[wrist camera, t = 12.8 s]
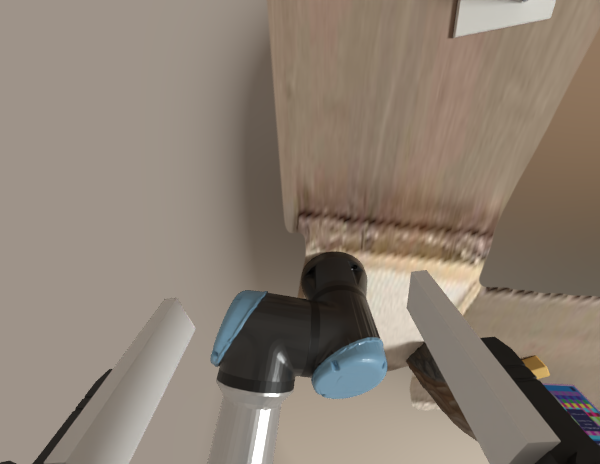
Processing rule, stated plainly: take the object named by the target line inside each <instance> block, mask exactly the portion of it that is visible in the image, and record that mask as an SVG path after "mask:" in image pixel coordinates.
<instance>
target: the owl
mask: <svg viewBox="0 0 600 464" xmlns="http://www.w3.org/2000/svg"><path fill="white" fill-rule="evenodd" d="M406 362H407V363H408V365H409V368H410V369H411V370H412V371H413V373H414V374H415V376H416V377H417V379H418V380H419V382H420V384H421V385H422V386H423V388H425V389H426V390H427V392H428V393H429V394H430V395H431V396H432V398H433V399H434V401H435V402H436V403H437V405H438V406H439V407H440V409H441V410H442V411H443V412H444V413H445V414H446V415H447V416H448V417H449V418H450V419H451V421H452V422H453V423H454V424H455V425H457V426H458V427H459V428H460V429H461V430H462V431H463V432H465V433H466V434H468V435H469V436H471V437H472V438H473V439H475V440H476V441H477V439H476V437H475V435H474V433H473V431H472V429H471V428H470V426H469V424H468V422H467V420H466V418H465V416H464V414H463V413H462V411H461V409H460V407H459V405H458V403H457V401H456V399H455V398H454V396H453V394H452V392H451V390H450V388H449V386H448V384H447V383H446V381H445V379H444V377H443V375H442V373H441V371H440V369H439V368H438V366H437V364H436V362H435V360H434V358H433V356H432V354H431V352H430V351H429V349H428V347H427V345H426V343H423V344H422V346H421V347H420V348H418V349H417V351H415V353H413V354H412V355H410V357H409V358H408V359H407V360H406Z"/></svg>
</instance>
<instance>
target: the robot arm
mask: <svg viewBox="0 0 600 464" xmlns="http://www.w3.org/2000/svg"><path fill="white" fill-rule="evenodd" d="M302 289H303V292H304V294H305V296H306V298H307V299H301V298H295V297H289V296H283V295H277V294H271V293H268V292H267V291H265V292H260V291H251V290H245V291H242V292H240V293H239V294H238V295H237V296H236V297H235V299H234V300H233V302H232V303H231V305H230V307H229V309H228V311H227V313H226V316H225V317H224V320H223V322H222V324H221V327H220V329H219V332H218V334H217V337H216V340H215V343H214V348H213V352H212V354H211V363H212V364H214V365H215V366H216V367H218V366H220V368H219V372H218V376H217V380H216V382H217V384H218V386H219V388H220V389H221V391H222V393H223V399H222V404H221V408H220V412H219V416H218V421H217V424H216V429H215V433H214V437H213V441H212V445H211V450H210V454H209V458H208V462H207V464H273V458H274V451H275V444H276V437H277V430H278V423H279V416H280V409H281V404H282V402H283V401H284V400H285V399H286V398H287V397H288V396H289V395H290V394H291V393H292V392H293V389H294V381H295V377H296V376H302V377H310V378H311V381H312V385H313V387H314V390H315V391H316V392H317V393H318V394H321V395H322V396H323V397H326V398H332V399H340V398H349V397H353V396H357V395H360V394H363V393H365V392H367V391H369V390H371V389H373V388H374V387H376V386H377V385H378V384H379V383H380V382H381V381H382V380H383V378H384V377H385V375H386V372H387V360H386V356H385V352H384V348H383V342H382V341H381V339H380V337H379V334H378V331H377V328H376V325H375V322H374V319H373V317H372V314H371V311H370V308H369V305H368V303H367V300H366V292H367V275H366V272H365V270H364V267H363V265H362V264H361V262H360V261H359V260H358V259H356V258H355V257H353V256H351V255H349V254H346V253H341V252H330V253H325V254H322V255H319V256H317V257H315V258H314V259H312V260H311V261H310V262H309V263H308V264H307V265H306V266H305V268H304V270H303V272H302ZM407 309H408V311H409V313H410V315H411V317H412V319H413V321H414V322H415V324H416V326H417V328H418V330H419V332H420V334H421V336H422V337H423V339H424V341H425V343H426V345H427V347H428V349H429V351H430V352H431V354H432V356H433V358H434V360H435V362H436V364H437V366H438V368H439V369H440V371H441V373H442V375H443V377H444V379H445V381H446V383H447V384H448V386H449V388H450V390H451V392H452V394H453V396H454V398H455V399H456V401H457V403H458V405H459V407H460V409H461V411H462V413H463V414H464V416H465V418H466V420H467V422H468V424H469V426H470V428H471V429H472V431H473V433H474V435H475V437H476V439H477V441H478V443H479V444H480V446H481V448H482V450H483V452H484V454H485V456H486V458H487V459H488V461H489V463H490V464H600V446H599V445H598V444H597V443H595V442H594V441H593V440H592V439H591V438H590V437H589V436H588V435H587V434H586V432H585V431H584V430H583V429H582V428H581V427H580V426H579V425H578V423H577V422H576V421H575V420H574V419H573V418H572V417H571V416H570V414H569V413H568V412H567V411H566V410H565V409H564V408H563V406H562V405H561V404H560V403H559V402H558V401H557V400H556V399H555V397H554V396H553V395H552V394H551V393H550V392H549V391H548V390H547V388H546V387H545V386H544V385H543V384H542V383H541V382H540V380H537V378H536V376H535V375H534V374H533V373H532V371H531V370H530V369H529V368H528V367H526V366H525V364H524V362H523V361H522V360H521V359H520V358H519V357H518V356H517V355H516V353H515V352H514V351H513V350H512V349H511V348H510V347H508V346H507V345H505V344H504V343H503V342H501V341H500V340H499V339H497V338H496V337H487V338H479V336H478V335H477V334H476V333H475V331H474V330H473V329H472V327H471V326H470V325H469V324H468V322H467V321H466V320H465V319H464V317H463V316H462V315H461V313H460V312H459V311H458V310H457V308H456V307H455V306H454V305H453V303H452V302H451V301H450V299H449V298H448V297H447V296H446V294H445V293H444V292H443V291H442V289H441V288H440V287H439V286H438V284H437V283H436V282H435V280H434V279H433V278H432V277H431V275H430V274H429V273H428V272H427V270H424V271H415V272H411V279H410V287H409V295H408V303H407ZM194 331H195V327H194V325H193V323H192V322H191V320H190V319H189V317H188V315H187V314H186V312H185V310H184V309H183V307H182V305H181V304H180V302H179V301H178V299H177V298H172V299H165V300H164V301H163V302H162V304H161V305H160V306H159V308H158V309H157V310H156V312H155V313H154V314H153V316H152V317H151V318H150V320H149V321H148V322H147V324H146V325H145V327H144V328H143V329H142V331H141V332H140V333H139V335H138V336H137V337H136V339H135V340H134V341H133V343H132V344H131V346H130V347H129V348H128V349H127V351H126V352H125V353H124V355H123V357H122V358H121V359H120V360H119V362H118V363H117V364H116V366H115V367H114V368H113V369H109V370H108V371H107V372H106V373H105V374H104V375H103V376H102V377H101V378H100V379H98V380H97V381H96V382H95V384H94V385H93V386H92V388H91V389H90V390H89V391H88V393H87V394H86V395H85V398H84V399H82V401H81V402H80V403H79V404H78V406H77V407H76V410H75V411H73V412H72V414H71V415H70V416H69V418H68V419H67V420H66V422H65V423H64V424H63V425H62V427H61V428H60V429H59V430H58V432H57V433H56V434H55V436H54V437H53V438H52V440H51V441H50V442H49V444H48V445H47V446H46V447H45V449H44V450H43V451H42V453H41V454H40V455H39V456H38V458H37V459H36V460H35V461H34V463H33V464H129V462H130V460H131V458H132V456H133V454H134V452H135V450H136V448H137V446H138V444H139V442H140V440H141V438H142V436H143V434H144V432H145V430H146V428H147V426H148V424H149V422H150V420H151V418H152V416H153V414H154V412H155V409H156V408H157V406H158V404H159V401H160V399H161V398H162V395H163V393H164V391H165V389H166V387H167V385H168V383H169V381H170V379H171V377H172V375H173V373H174V371H175V369H176V367H177V365H178V363H179V361H180V359H181V357H182V355H183V353H184V351H185V349H186V347H187V345H188V343H189V341H190V339H191V337H192V335H193V333H194ZM0 464H16V463H14V462H12V461H6V462H1V463H0Z"/></svg>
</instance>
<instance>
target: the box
mask: <svg viewBox="0 0 600 464" xmlns="http://www.w3.org/2000/svg"><path fill="white" fill-rule="evenodd" d="M542 384H543V383H542ZM543 385H544V386H545V387H546V388H547V390H548V391H549V392H550V393H552V394H553V395H554V396H555V397H557V398H558V400H559V401H560V402H561V404H562V406H563V408H564V409H565V410H566V411H567V412H568V413H569V414H570V416H571V417H572V418H573V419H574V420H575V421H576V422H577V423H578V425H579V426H580V427H581V428H582V429H583V430H584V431H585V432H586V434H587V435H588V436H589V437H590V438H591V439H592V440H593V441H594V442H595V443H597V444H598V445H599V446H600V411H599V410H598V409H597V408H596V407H595V406H594V405H593V404H592V403H591V402H590V401H589V400H588V399H587V398H586V397H585V396H584V395H583V394H582V393H581V392H580V391H579V390H578V389H577V388H576V387H575V386H574V385H564V384H543Z"/></svg>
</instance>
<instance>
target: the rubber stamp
mask: <svg viewBox="0 0 600 464" xmlns="http://www.w3.org/2000/svg"><path fill="white" fill-rule="evenodd" d="M522 361H523V362H524V364H525V366H526V367H528V368H529V369H530V370H531V371H532V373H533V374H534V375H535V376H536V378H537V379H540V378H544V377H547V376H549V375H550V373H549V371H548V368H547V367H546V365H545V364H544V363H543V362H542V361H541V360H540V359H539V358H538V357H537V356H536V355H535V356H532V357H529V358H526V359H523V360H522ZM551 394H552V393H551ZM552 395H553V394H552ZM553 396H554V395H553ZM554 397H555V396H554ZM555 399H556V400H557V401H558V402H559V403H560V404H561V402H560V401H559V400H558V398H557V397H555ZM561 405H562V404H561Z"/></svg>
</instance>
